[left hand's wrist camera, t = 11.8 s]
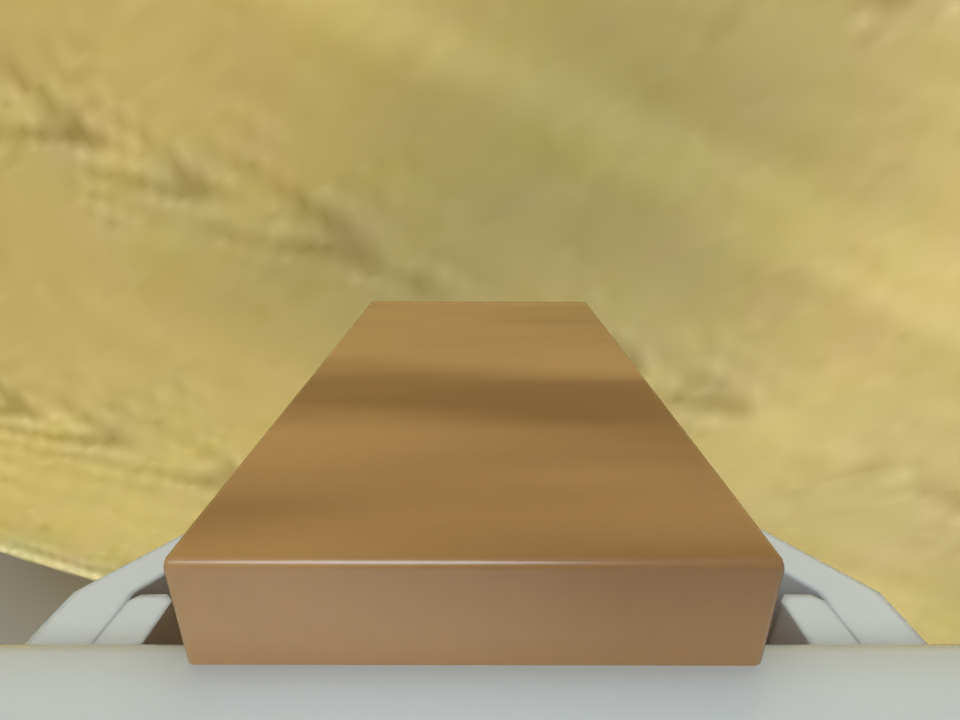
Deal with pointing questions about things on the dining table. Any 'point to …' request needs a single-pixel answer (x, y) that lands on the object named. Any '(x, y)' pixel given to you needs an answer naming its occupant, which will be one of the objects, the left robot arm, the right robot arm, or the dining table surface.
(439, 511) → the bar
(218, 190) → the dining table surface
